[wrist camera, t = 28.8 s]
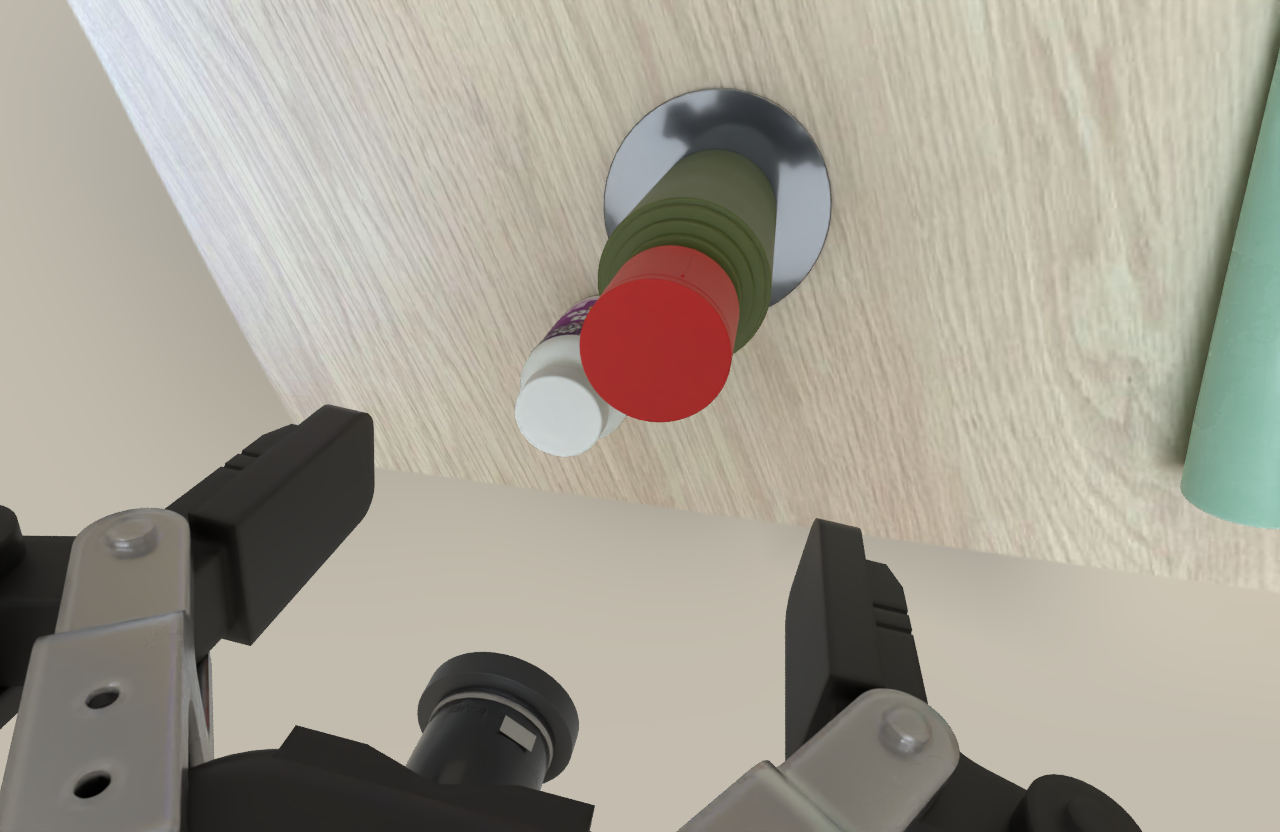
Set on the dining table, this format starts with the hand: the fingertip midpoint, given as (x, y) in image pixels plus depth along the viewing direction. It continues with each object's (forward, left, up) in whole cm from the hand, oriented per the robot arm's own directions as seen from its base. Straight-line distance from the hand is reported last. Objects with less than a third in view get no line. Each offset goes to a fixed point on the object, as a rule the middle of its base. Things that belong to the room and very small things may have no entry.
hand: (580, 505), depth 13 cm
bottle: (0, 0, -26) cm, 26 cm away
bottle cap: (0, 0, -11) cm, 11 cm away
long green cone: (+1, -24, -27) cm, 36 cm away
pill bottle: (-7, +6, -27) cm, 28 cm away
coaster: (0, 0, -26) cm, 26 cm away
